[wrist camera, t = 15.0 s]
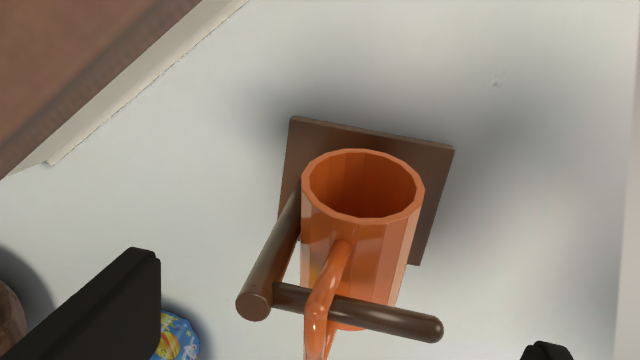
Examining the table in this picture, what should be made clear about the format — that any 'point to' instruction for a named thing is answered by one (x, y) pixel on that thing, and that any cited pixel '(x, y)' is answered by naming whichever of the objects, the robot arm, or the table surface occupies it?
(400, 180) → the mug
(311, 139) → the mug stand
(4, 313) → the wooden sphere
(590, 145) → the table surface
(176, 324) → the snack cup
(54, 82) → the book
